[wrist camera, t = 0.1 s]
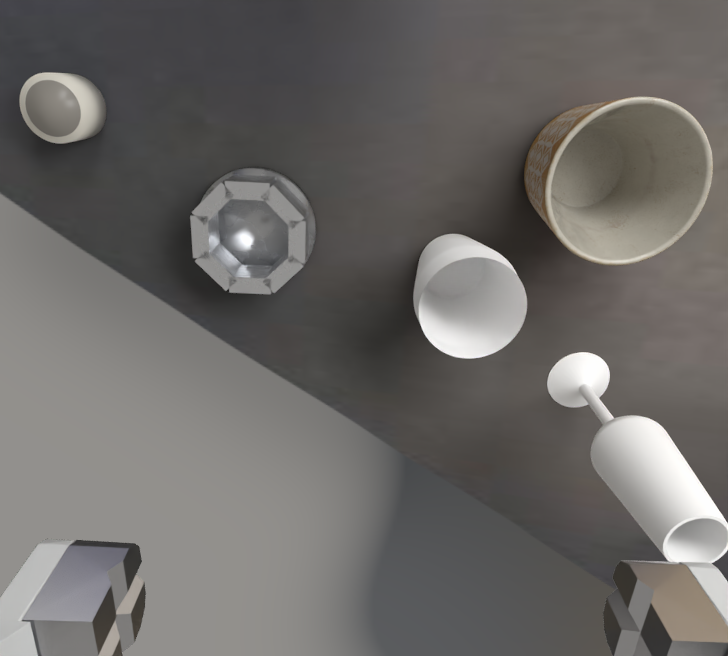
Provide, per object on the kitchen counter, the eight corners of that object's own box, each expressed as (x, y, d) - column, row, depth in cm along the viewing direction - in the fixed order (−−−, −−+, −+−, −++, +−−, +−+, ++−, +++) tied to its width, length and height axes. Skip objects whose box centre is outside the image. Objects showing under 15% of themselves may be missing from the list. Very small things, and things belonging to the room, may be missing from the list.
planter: (491, 211, 56) (518, 238, 46) (547, 74, 51) (591, 71, 41) (610, 251, 57) (661, 285, 48) (675, 121, 53) (746, 130, 43)
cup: (391, 291, 59) (399, 339, 48) (427, 207, 55) (443, 238, 44) (473, 320, 60) (499, 374, 49) (512, 240, 57) (549, 278, 46)
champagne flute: (533, 383, 63) (628, 546, 41) (581, 340, 61) (708, 486, 39) (575, 418, 64) (687, 593, 42) (623, 377, 62) (766, 538, 40)
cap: (39, 71, 51) (12, 70, 47) (102, 75, 51) (81, 74, 47) (49, 137, 53) (24, 141, 49) (110, 140, 53) (90, 145, 49)
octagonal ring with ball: (195, 164, 54) (180, 171, 49) (317, 170, 54) (313, 178, 49) (202, 279, 58) (188, 296, 53) (315, 285, 58) (311, 302, 54)
